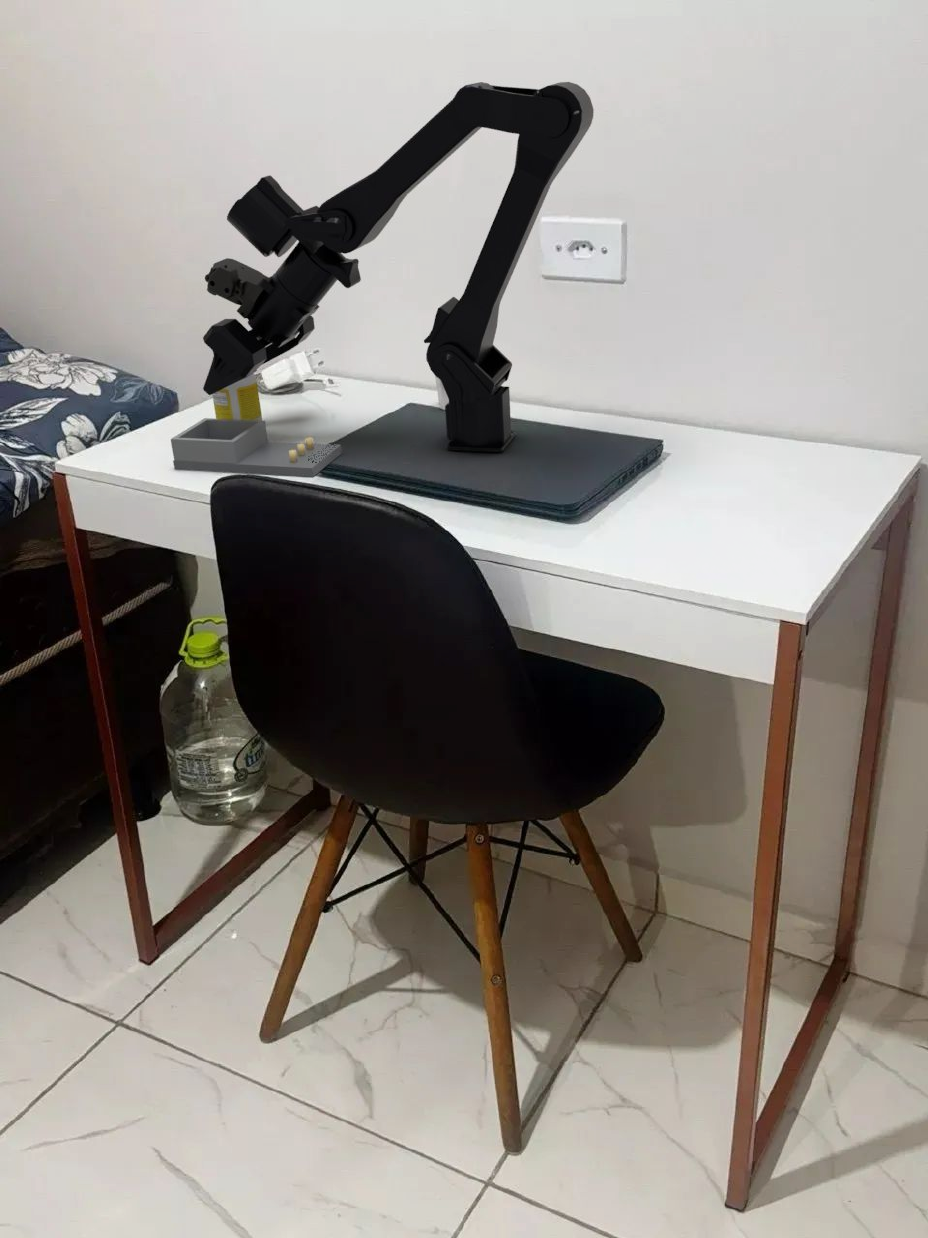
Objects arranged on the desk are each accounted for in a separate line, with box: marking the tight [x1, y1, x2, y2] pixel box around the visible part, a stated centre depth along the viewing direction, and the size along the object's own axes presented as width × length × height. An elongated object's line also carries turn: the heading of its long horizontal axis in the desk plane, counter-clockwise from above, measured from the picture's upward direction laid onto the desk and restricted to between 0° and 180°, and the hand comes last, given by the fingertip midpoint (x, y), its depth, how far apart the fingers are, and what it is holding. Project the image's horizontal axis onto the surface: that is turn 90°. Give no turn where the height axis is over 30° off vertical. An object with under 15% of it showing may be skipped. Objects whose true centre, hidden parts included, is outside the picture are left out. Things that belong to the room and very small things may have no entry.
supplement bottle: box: [211, 355, 263, 421], centre depth 140 cm, size 5×5×10 cm
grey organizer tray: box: [170, 418, 343, 478], centre depth 133 cm, size 17×8×4 cm, turn 73°
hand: (223, 381), depth 140 cm, fingers open, 8 cm apart
